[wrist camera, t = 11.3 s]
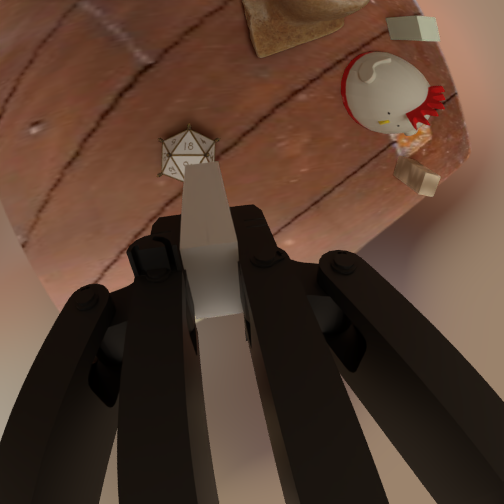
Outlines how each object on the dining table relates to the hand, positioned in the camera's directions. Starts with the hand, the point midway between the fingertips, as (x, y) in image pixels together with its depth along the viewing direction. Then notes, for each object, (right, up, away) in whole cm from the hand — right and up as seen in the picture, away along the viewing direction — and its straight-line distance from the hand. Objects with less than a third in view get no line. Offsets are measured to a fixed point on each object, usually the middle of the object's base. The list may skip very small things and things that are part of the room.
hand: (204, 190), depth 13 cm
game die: (-7, +12, +27) cm, 30 cm away
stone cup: (+7, +31, +16) cm, 36 cm away
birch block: (+31, +13, +34) cm, 48 cm away
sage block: (+26, +33, +18) cm, 46 cm away
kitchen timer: (+22, +23, +25) cm, 41 cm away
